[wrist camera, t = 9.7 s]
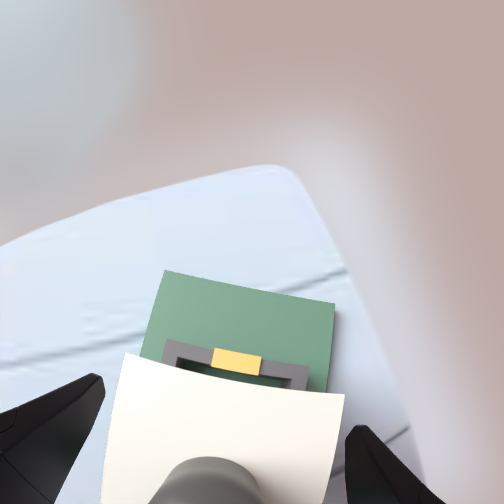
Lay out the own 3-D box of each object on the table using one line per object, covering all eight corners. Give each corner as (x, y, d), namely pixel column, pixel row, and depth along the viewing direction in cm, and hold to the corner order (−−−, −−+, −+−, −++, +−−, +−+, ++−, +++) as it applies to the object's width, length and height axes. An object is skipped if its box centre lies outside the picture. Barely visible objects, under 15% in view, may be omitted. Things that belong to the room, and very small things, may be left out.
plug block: (250, 462, 13) (320, 620, 1) (179, 448, 13) (61, 573, 1) (265, 390, 15) (401, 392, 3) (194, 376, 15) (77, 330, 3)
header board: (287, 532, 11) (302, 560, 7) (119, 500, 11) (95, 521, 7) (329, 308, 19) (353, 287, 15) (168, 276, 19) (154, 247, 16)
